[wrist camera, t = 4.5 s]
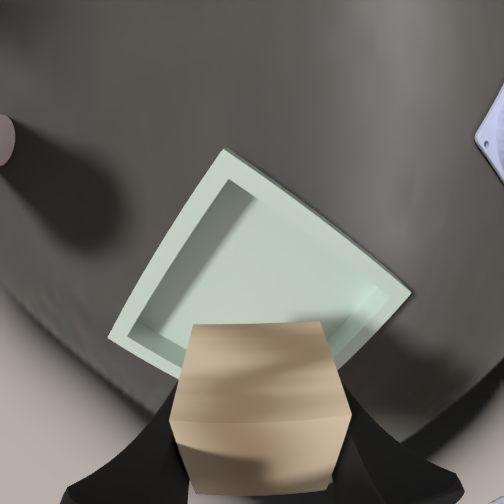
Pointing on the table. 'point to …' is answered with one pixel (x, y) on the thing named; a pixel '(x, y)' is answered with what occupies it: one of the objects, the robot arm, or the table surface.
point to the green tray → (254, 271)
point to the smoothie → (6, 139)
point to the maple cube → (259, 409)
